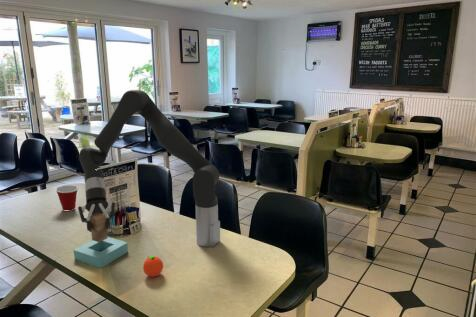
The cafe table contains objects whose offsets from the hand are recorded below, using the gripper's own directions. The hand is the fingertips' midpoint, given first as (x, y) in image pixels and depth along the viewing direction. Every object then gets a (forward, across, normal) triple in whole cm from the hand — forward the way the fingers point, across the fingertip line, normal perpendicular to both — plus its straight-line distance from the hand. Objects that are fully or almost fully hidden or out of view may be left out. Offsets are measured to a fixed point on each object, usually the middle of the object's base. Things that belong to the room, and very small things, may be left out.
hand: (99, 229), depth 135 cm
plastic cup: (-33, -14, +50) cm, 62 cm away
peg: (+2, 0, +5) cm, 5 cm away
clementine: (+22, +17, -6) cm, 28 cm away
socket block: (+7, 0, +10) cm, 12 cm away
